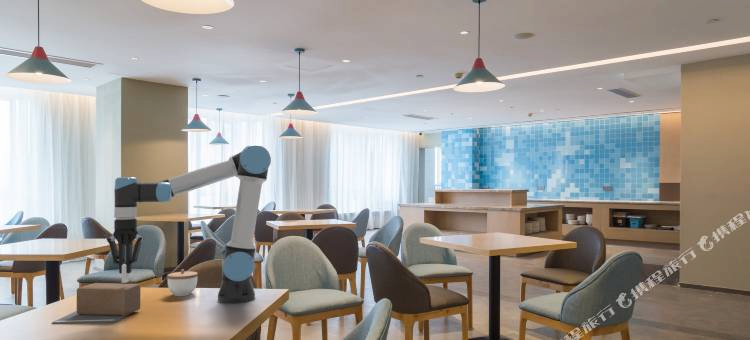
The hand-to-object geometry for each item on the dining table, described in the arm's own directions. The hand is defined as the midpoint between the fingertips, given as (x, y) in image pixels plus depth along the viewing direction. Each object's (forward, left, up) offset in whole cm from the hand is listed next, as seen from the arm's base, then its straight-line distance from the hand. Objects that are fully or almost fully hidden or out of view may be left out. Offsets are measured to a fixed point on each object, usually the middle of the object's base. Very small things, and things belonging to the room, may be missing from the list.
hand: (125, 282), depth 184 cm
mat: (+10, +1, -12) cm, 16 cm away
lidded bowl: (-10, -35, -13) cm, 38 cm away
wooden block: (-3, -1, -7) cm, 7 cm away
